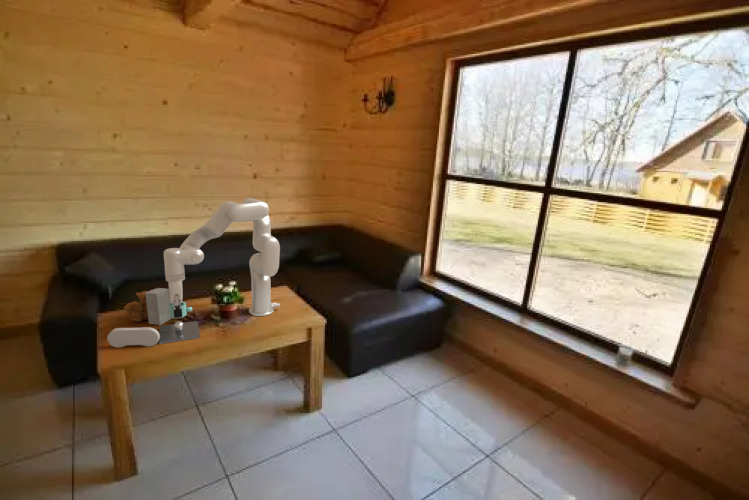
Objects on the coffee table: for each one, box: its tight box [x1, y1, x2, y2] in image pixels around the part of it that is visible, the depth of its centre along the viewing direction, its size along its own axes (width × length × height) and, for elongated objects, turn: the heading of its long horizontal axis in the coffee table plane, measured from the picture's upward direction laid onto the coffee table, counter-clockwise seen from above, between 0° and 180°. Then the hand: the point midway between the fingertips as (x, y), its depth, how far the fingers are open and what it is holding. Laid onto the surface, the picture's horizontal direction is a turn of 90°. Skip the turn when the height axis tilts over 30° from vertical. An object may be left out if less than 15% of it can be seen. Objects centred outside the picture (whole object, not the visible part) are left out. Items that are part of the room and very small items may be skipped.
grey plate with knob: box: [158, 320, 201, 345], centre depth 174 cm, size 16×16×5 cm
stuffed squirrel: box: [123, 290, 149, 323], centre depth 184 cm, size 10×14×13 cm
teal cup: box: [169, 301, 193, 319], centre depth 172 cm, size 7×9×5 cm
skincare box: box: [145, 287, 172, 326], centre depth 182 cm, size 8×7×16 cm
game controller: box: [106, 326, 160, 348], centre depth 161 cm, size 20×2×8 cm, turn 100°
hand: (178, 313), depth 172 cm, fingers closed on teal cup, 6 cm apart
